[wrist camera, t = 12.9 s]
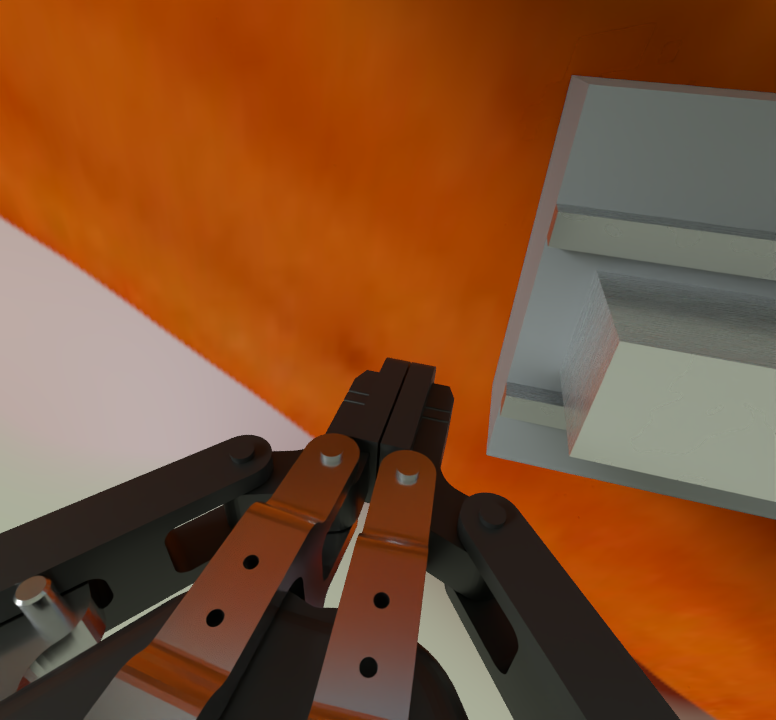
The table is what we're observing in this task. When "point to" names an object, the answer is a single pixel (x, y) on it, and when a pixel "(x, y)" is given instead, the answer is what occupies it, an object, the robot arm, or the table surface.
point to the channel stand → (634, 243)
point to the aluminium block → (674, 383)
